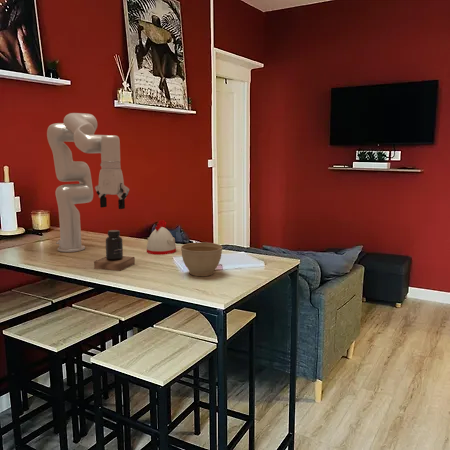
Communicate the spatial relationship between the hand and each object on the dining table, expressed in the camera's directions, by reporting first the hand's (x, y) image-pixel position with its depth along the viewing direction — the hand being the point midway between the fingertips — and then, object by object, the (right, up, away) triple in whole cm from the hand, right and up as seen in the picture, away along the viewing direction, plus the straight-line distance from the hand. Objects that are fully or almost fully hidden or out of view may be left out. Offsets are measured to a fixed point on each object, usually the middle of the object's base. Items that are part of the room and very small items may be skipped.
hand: (112, 207), depth 191 cm
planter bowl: (+37, -26, -8) cm, 46 cm away
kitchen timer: (+16, -20, +30) cm, 40 cm away
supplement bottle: (0, -21, +2) cm, 22 cm away
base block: (0, -24, +3) cm, 24 cm away
